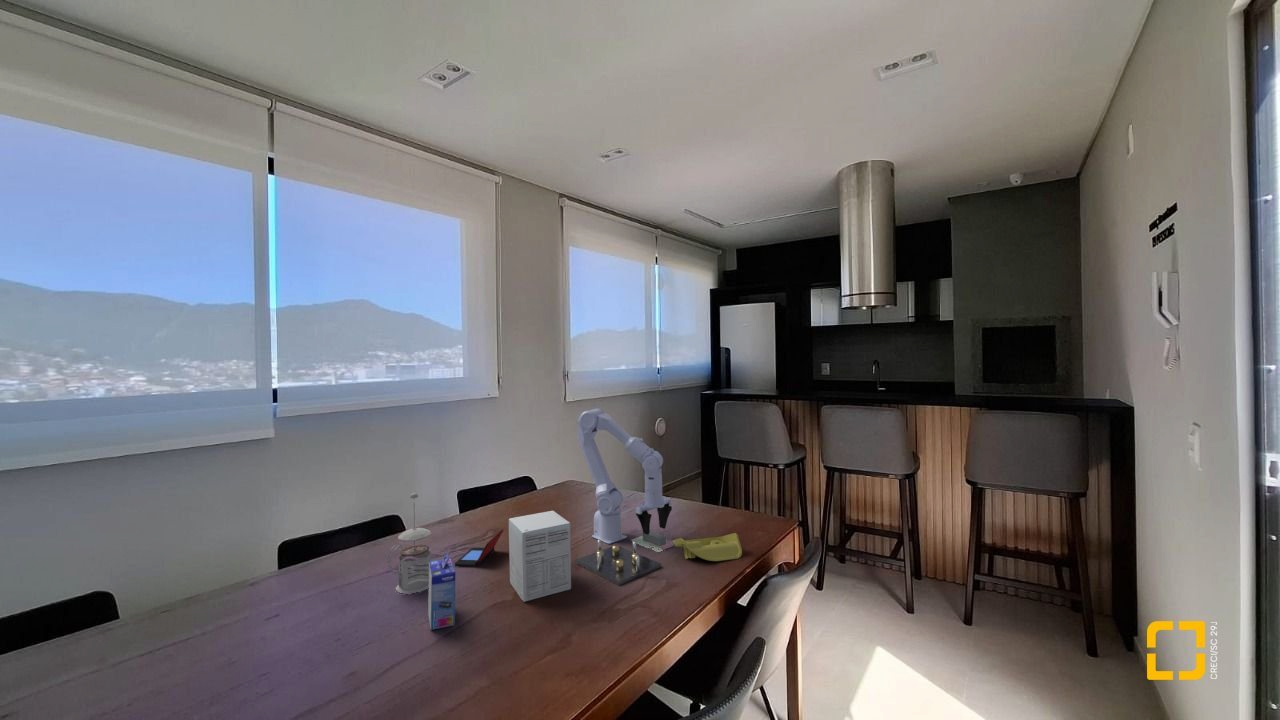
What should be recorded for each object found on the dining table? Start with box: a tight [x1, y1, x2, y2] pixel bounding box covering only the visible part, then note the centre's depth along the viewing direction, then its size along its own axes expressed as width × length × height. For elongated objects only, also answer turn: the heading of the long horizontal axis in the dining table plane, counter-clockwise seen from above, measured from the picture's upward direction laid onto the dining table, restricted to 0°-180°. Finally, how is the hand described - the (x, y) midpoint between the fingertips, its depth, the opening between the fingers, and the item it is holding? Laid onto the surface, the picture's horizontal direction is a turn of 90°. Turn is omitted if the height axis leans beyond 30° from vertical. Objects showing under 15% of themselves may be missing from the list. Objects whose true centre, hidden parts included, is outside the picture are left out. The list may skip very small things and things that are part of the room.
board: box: [631, 530, 667, 553], centre depth 155 cm, size 14×10×3 cm
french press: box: [386, 492, 432, 594], centre depth 127 cm, size 10×12×25 cm
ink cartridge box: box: [427, 552, 456, 631], centre depth 111 cm, size 10×6×14 cm, turn 27°
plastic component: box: [672, 532, 743, 562], centre depth 144 cm, size 20×7×10 cm
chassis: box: [575, 539, 662, 586], centre depth 138 cm, size 20×16×5 cm
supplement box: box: [508, 510, 572, 603], centre depth 126 cm, size 13×13×18 cm
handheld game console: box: [454, 529, 504, 568], centre depth 145 cm, size 12×11×7 cm
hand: (654, 530), depth 155 cm, fingers open, 7 cm apart
